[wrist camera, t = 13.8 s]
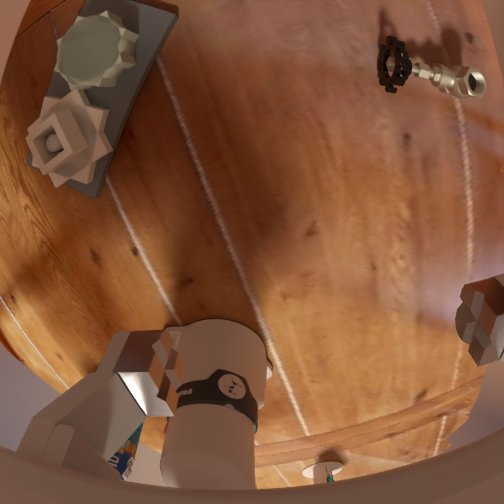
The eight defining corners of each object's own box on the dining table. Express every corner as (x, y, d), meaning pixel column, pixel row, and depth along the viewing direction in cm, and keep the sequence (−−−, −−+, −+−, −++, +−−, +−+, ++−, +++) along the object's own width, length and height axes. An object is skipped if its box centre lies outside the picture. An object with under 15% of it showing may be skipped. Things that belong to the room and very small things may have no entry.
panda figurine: (347, 470, 73) (354, 514, 59) (310, 480, 75) (314, 523, 62) (336, 457, 68) (344, 506, 55) (296, 468, 70) (299, 516, 57)
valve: (459, 61, 28) (376, 39, 28) (489, 60, 23) (400, 30, 23) (457, 109, 31) (375, 91, 32) (488, 114, 26) (399, 92, 26)
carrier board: (99, 195, 37) (79, 209, 33) (32, 161, 35) (8, 172, 30) (178, 17, 28) (166, 5, 23) (97, -6, 25) (75, -17, 20)
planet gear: (132, 156, 34) (115, 165, 29) (59, 203, 36) (39, 217, 32) (88, 66, 29) (66, 64, 24) (20, 123, 31) (-4, 130, 27)
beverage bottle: (133, 430, 63) (114, 501, 45) (102, 412, 60) (77, 484, 42) (151, 420, 60) (132, 499, 42) (119, 401, 57) (92, 481, 39)
